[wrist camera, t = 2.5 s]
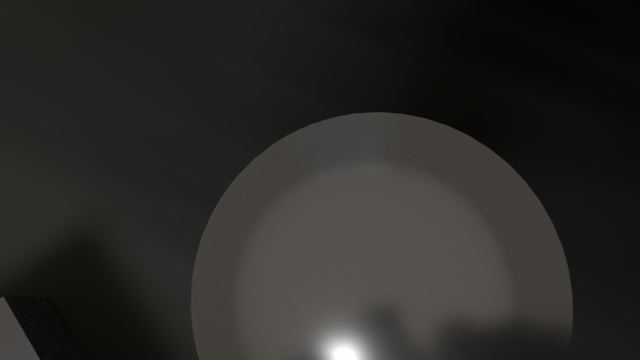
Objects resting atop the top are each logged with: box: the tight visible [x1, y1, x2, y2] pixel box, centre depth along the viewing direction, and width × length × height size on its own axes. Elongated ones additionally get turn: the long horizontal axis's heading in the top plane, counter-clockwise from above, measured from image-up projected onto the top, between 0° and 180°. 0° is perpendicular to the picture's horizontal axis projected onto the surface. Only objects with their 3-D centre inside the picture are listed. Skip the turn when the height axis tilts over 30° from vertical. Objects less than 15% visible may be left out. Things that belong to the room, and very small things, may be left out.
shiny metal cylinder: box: [191, 112, 573, 360], centre depth 12 cm, size 5×5×11 cm
